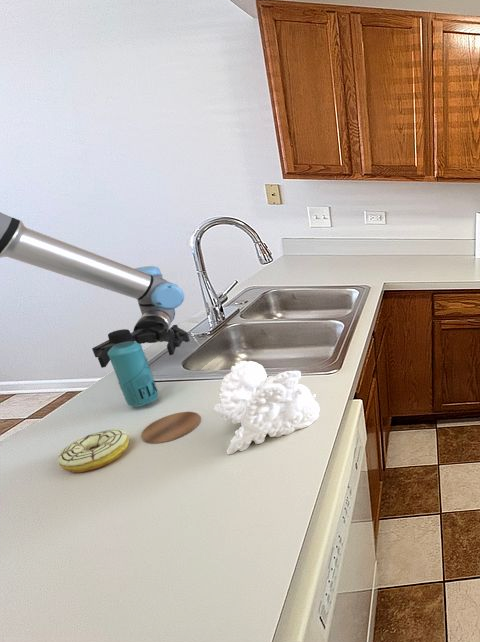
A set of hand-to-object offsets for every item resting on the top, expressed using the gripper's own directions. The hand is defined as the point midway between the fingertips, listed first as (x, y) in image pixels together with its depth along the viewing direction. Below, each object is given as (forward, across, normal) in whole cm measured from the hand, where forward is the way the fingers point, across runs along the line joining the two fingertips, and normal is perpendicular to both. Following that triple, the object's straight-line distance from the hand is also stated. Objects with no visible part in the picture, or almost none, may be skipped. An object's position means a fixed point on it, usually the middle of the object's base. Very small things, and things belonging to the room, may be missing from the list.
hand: (136, 356), depth 100 cm
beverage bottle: (+6, 0, -11) cm, 12 cm away
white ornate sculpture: (+32, -27, -11) cm, 43 cm away
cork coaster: (+20, -7, -11) cm, 24 cm away
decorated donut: (+24, +5, -11) cm, 27 cm away
